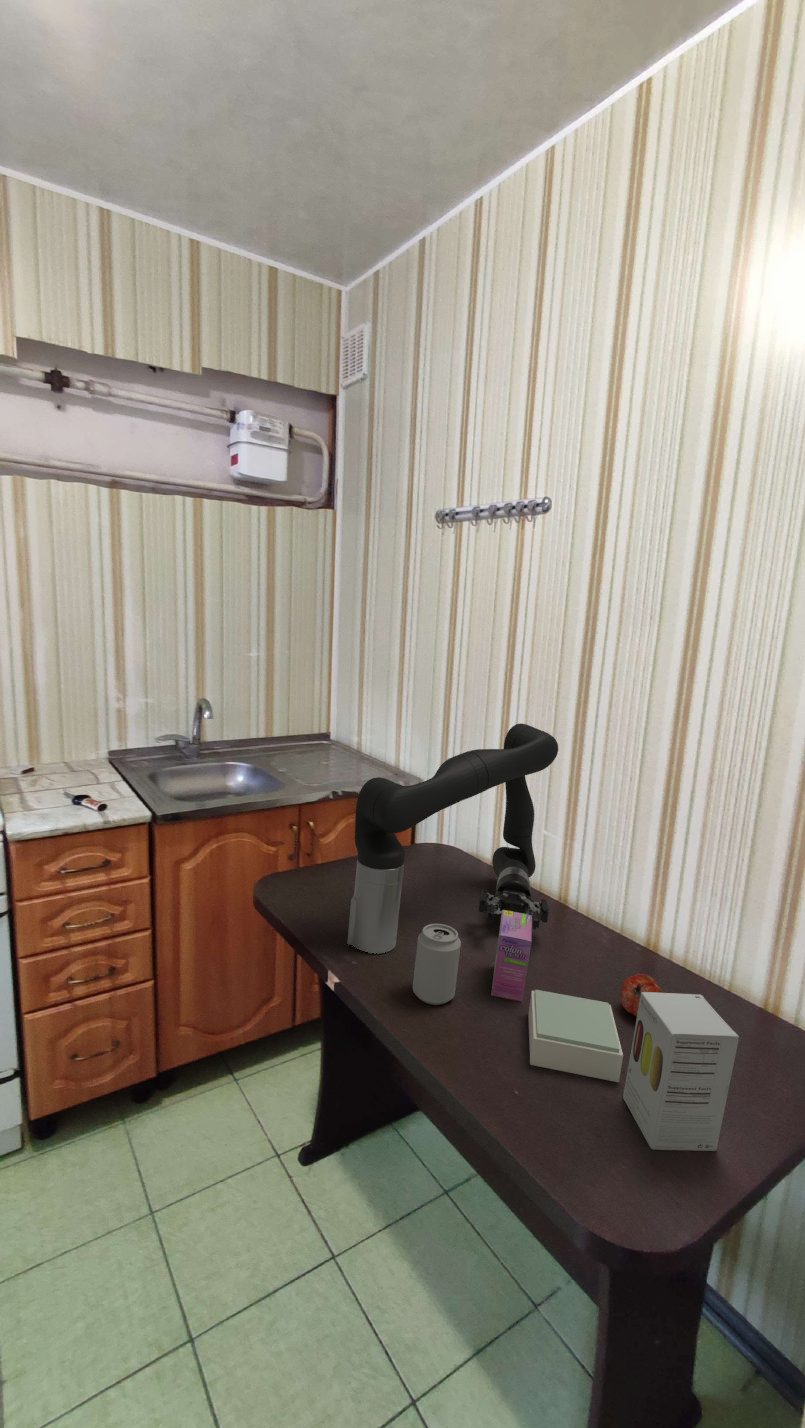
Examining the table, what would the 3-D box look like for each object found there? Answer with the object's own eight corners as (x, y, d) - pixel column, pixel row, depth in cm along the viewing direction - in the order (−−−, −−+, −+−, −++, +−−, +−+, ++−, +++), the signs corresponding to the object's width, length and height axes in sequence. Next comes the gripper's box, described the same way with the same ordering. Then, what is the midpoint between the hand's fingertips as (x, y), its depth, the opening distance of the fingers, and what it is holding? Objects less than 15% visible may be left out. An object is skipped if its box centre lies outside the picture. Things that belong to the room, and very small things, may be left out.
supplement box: (620, 1096, 93) (638, 989, 90) (681, 1098, 94) (700, 991, 91) (651, 1152, 84) (672, 1033, 81) (719, 1153, 85) (741, 1035, 82)
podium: (530, 1064, 98) (534, 1034, 97) (528, 1014, 111) (532, 987, 110) (618, 1082, 96) (623, 1051, 95) (606, 1028, 109) (611, 1001, 108)
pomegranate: (625, 1009, 119) (602, 989, 113) (649, 977, 120) (627, 956, 114) (657, 1037, 113) (635, 1018, 107) (682, 1003, 114) (661, 982, 108)
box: (523, 1002, 114) (531, 940, 112) (490, 996, 115) (498, 934, 113) (524, 972, 124) (532, 914, 122) (494, 966, 125) (501, 908, 123)
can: (459, 989, 116) (466, 927, 114) (448, 1012, 109) (456, 946, 107) (419, 978, 118) (426, 917, 117) (406, 1000, 111) (413, 935, 110)
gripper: (483, 868, 146) (479, 898, 130) (548, 878, 143) (552, 909, 128) (480, 899, 147) (475, 933, 131) (543, 909, 145) (547, 945, 129)
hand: (513, 921), depth 129 cm, fingers open, 8 cm apart
